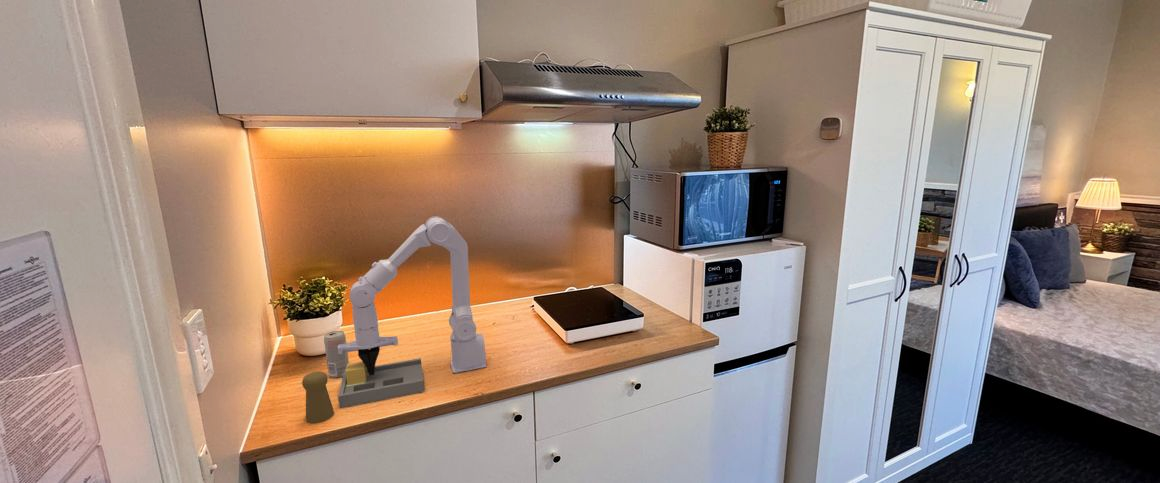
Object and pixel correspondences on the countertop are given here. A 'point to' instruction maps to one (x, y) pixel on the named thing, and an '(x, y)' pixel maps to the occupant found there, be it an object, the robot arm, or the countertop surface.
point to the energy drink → (335, 353)
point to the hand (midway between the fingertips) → (372, 373)
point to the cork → (317, 398)
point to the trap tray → (384, 383)
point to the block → (356, 373)
